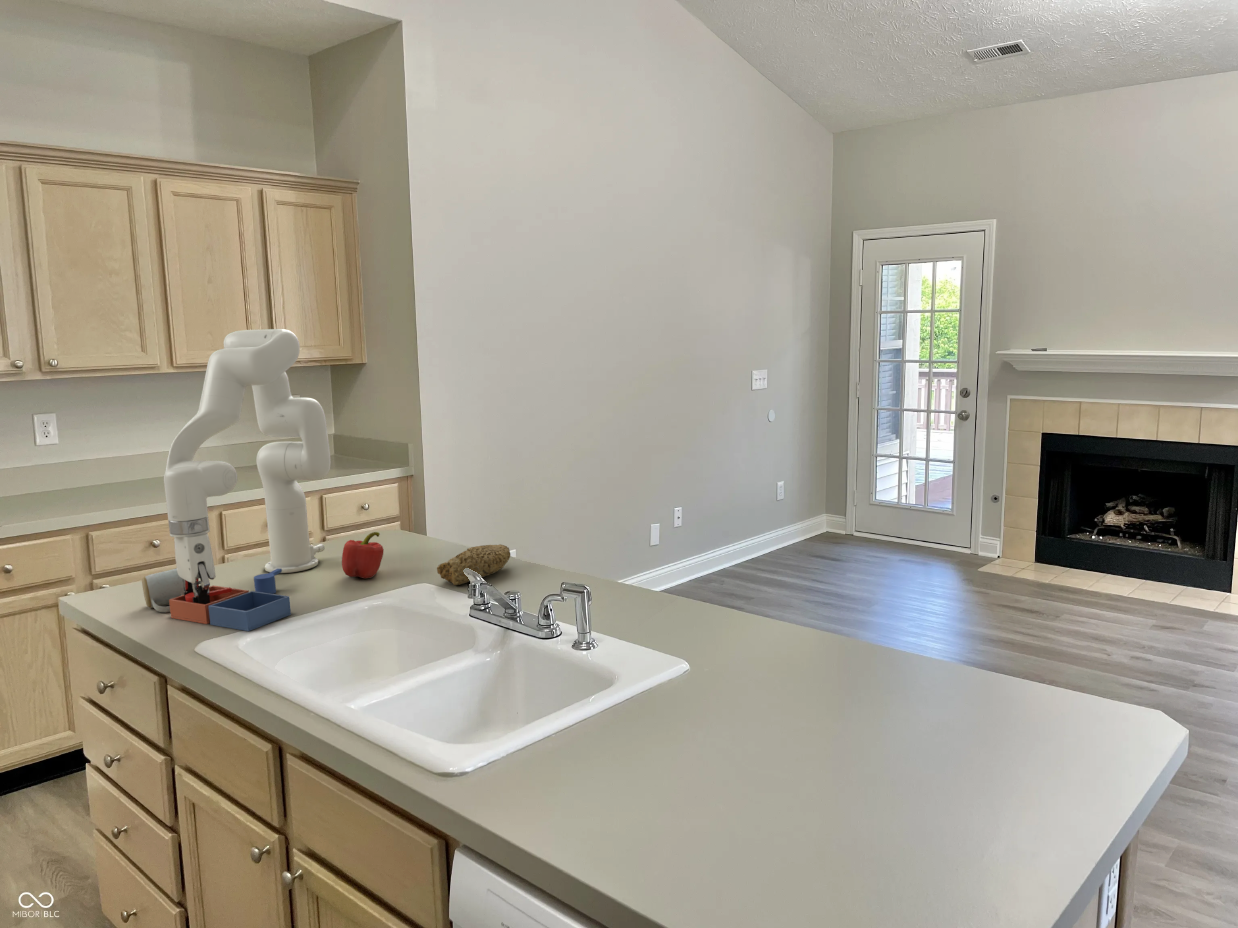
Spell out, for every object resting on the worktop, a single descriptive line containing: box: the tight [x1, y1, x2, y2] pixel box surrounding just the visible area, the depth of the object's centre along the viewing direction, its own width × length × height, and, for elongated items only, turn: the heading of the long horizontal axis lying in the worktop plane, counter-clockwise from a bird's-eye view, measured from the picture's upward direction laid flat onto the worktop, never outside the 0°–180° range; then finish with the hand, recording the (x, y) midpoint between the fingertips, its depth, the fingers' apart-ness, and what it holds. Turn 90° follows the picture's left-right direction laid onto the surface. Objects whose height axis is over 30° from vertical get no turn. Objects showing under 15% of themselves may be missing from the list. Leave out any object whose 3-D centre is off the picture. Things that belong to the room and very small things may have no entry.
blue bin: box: [208, 590, 292, 632], centre depth 187 cm, size 11×11×4 cm
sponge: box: [436, 543, 511, 586], centre depth 214 cm, size 13×8×20 cm
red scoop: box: [185, 586, 233, 602], centre depth 193 cm, size 9×4×4 cm, turn 133°
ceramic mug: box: [141, 567, 184, 613], centre depth 198 cm, size 11×8×8 cm
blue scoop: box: [253, 569, 282, 594], centre depth 209 cm, size 9×4×4 cm, turn 173°
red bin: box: [169, 585, 250, 625], centre depth 193 cm, size 11×11×4 cm
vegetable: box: [341, 531, 385, 579], centre depth 217 cm, size 11×10×10 cm
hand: (198, 610), depth 191 cm, fingers closed on red scoop, 4 cm apart
